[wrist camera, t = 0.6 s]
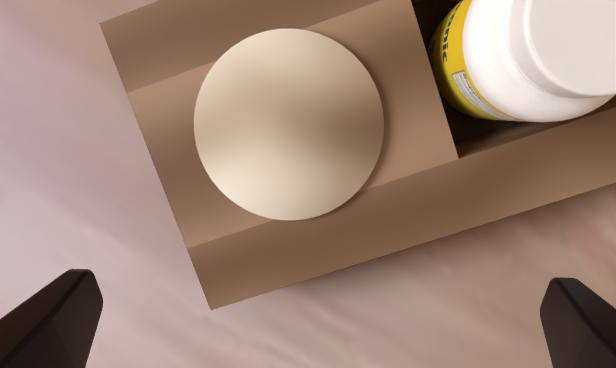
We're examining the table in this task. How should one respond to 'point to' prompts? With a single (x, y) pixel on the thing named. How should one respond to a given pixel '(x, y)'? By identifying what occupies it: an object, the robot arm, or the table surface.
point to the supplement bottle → (526, 58)
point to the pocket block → (324, 138)
